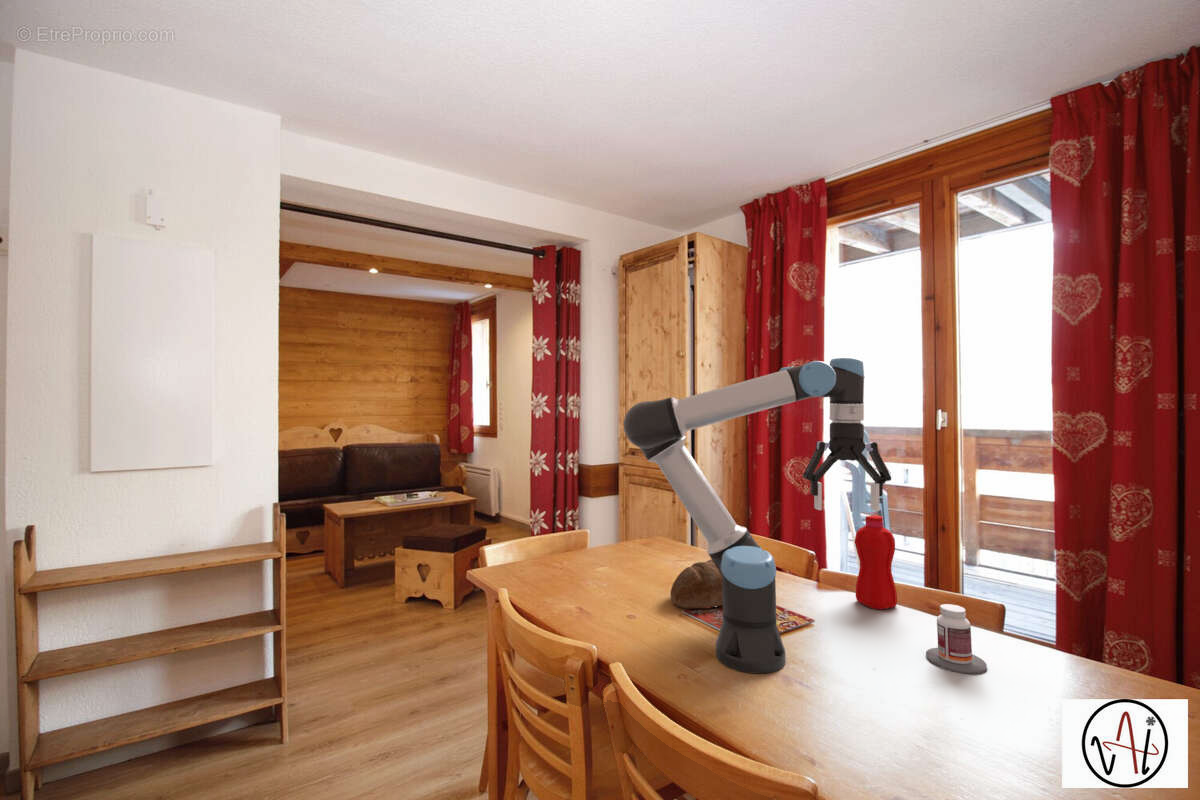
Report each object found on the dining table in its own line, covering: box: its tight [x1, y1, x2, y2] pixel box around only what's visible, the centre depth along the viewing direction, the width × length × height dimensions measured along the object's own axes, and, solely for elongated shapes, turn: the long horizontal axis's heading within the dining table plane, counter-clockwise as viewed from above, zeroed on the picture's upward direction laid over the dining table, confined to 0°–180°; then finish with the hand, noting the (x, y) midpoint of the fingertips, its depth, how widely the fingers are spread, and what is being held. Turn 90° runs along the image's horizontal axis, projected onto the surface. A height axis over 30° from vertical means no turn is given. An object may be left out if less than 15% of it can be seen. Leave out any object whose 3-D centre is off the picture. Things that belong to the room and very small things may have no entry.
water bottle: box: [854, 514, 898, 611], centre depth 151 cm, size 9×11×25 cm
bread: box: [670, 558, 723, 609], centre depth 157 cm, size 16×29×11 cm, turn 121°
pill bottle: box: [936, 603, 973, 664], centre depth 115 cm, size 6×6×11 cm
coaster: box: [925, 647, 988, 675], centre depth 115 cm, size 11×11×1 cm
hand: (846, 509), depth 128 cm, fingers open, 13 cm apart
